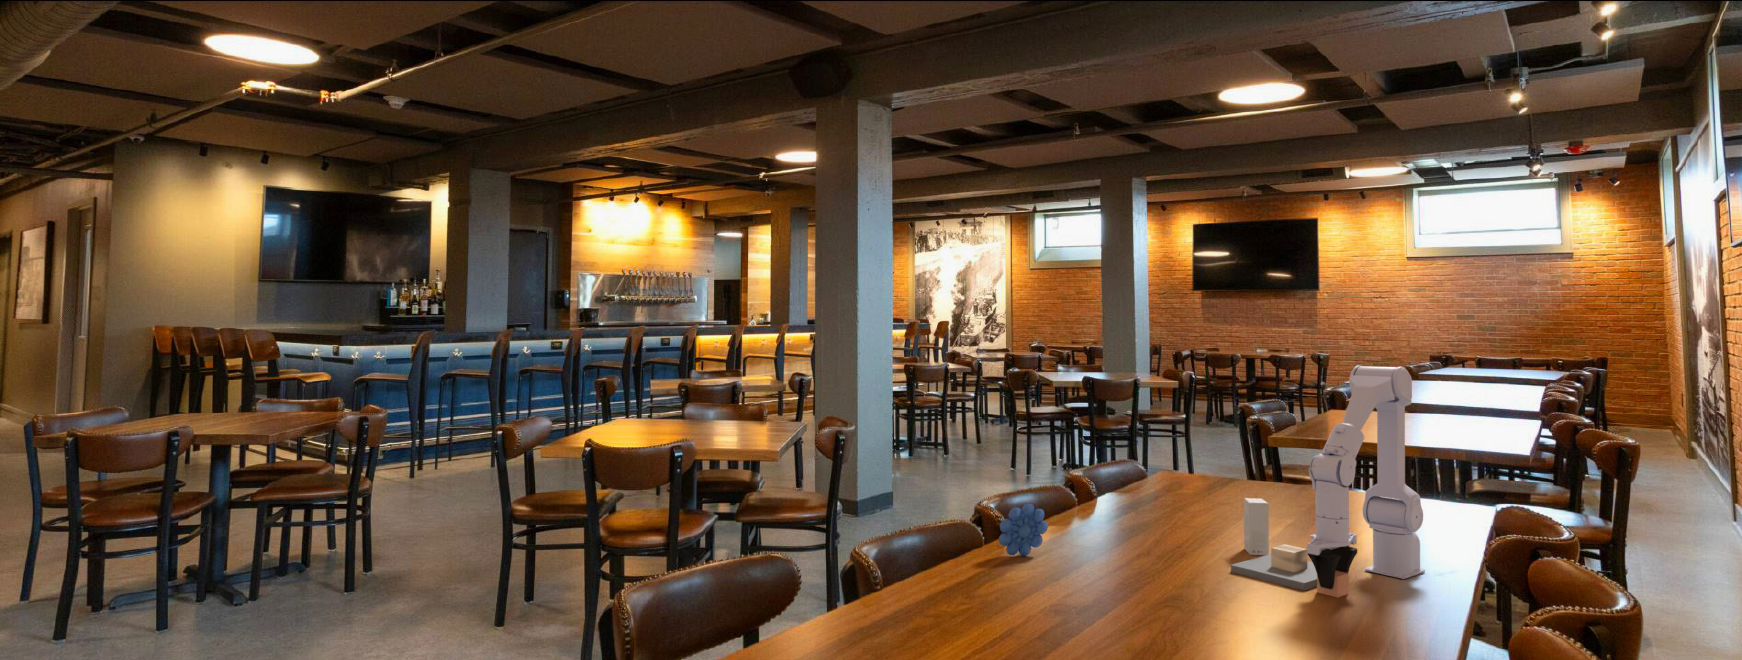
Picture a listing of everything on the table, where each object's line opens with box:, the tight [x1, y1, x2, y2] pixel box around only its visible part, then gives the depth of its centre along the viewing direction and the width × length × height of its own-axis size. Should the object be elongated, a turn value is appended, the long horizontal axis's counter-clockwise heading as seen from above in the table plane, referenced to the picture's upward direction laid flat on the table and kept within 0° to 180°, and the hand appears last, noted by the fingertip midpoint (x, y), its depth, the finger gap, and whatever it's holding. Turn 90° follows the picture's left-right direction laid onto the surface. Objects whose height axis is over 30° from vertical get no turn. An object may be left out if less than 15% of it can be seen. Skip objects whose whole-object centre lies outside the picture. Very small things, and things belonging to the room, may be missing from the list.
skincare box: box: [1243, 497, 1270, 556], centre depth 198 cm, size 6×4×12 cm
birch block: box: [1270, 543, 1308, 572], centre depth 180 cm, size 5×5×4 cm
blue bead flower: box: [998, 503, 1049, 557], centre depth 198 cm, size 12×7×12 cm, turn 98°
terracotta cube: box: [1316, 571, 1350, 598], centre depth 167 cm, size 4×4×4 cm
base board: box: [1230, 553, 1317, 591], centre depth 180 cm, size 16×16×2 cm
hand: (1332, 585), depth 167 cm, fingers closed on terracotta cube, 4 cm apart
